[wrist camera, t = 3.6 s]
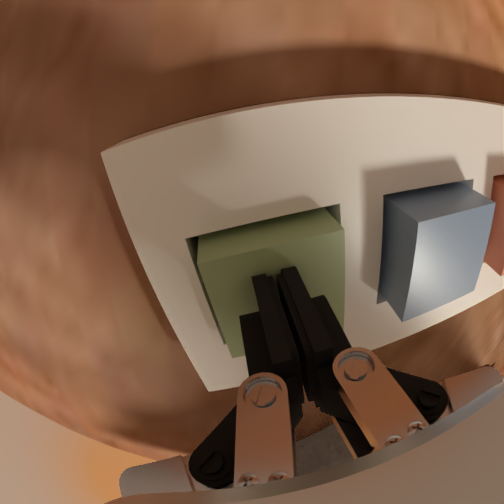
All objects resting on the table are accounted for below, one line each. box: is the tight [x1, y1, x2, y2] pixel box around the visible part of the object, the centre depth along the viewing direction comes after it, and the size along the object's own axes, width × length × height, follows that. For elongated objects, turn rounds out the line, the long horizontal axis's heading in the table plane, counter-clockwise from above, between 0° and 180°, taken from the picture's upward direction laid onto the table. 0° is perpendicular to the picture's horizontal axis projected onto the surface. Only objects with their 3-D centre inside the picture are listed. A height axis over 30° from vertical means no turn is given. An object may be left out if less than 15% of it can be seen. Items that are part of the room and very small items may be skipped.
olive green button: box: [197, 207, 345, 358], centre depth 12 cm, size 5×5×3 cm
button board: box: [101, 93, 504, 392], centre depth 13 cm, size 26×14×3 cm, turn 101°
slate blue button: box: [378, 182, 496, 322], centre depth 12 cm, size 5×5×3 cm
